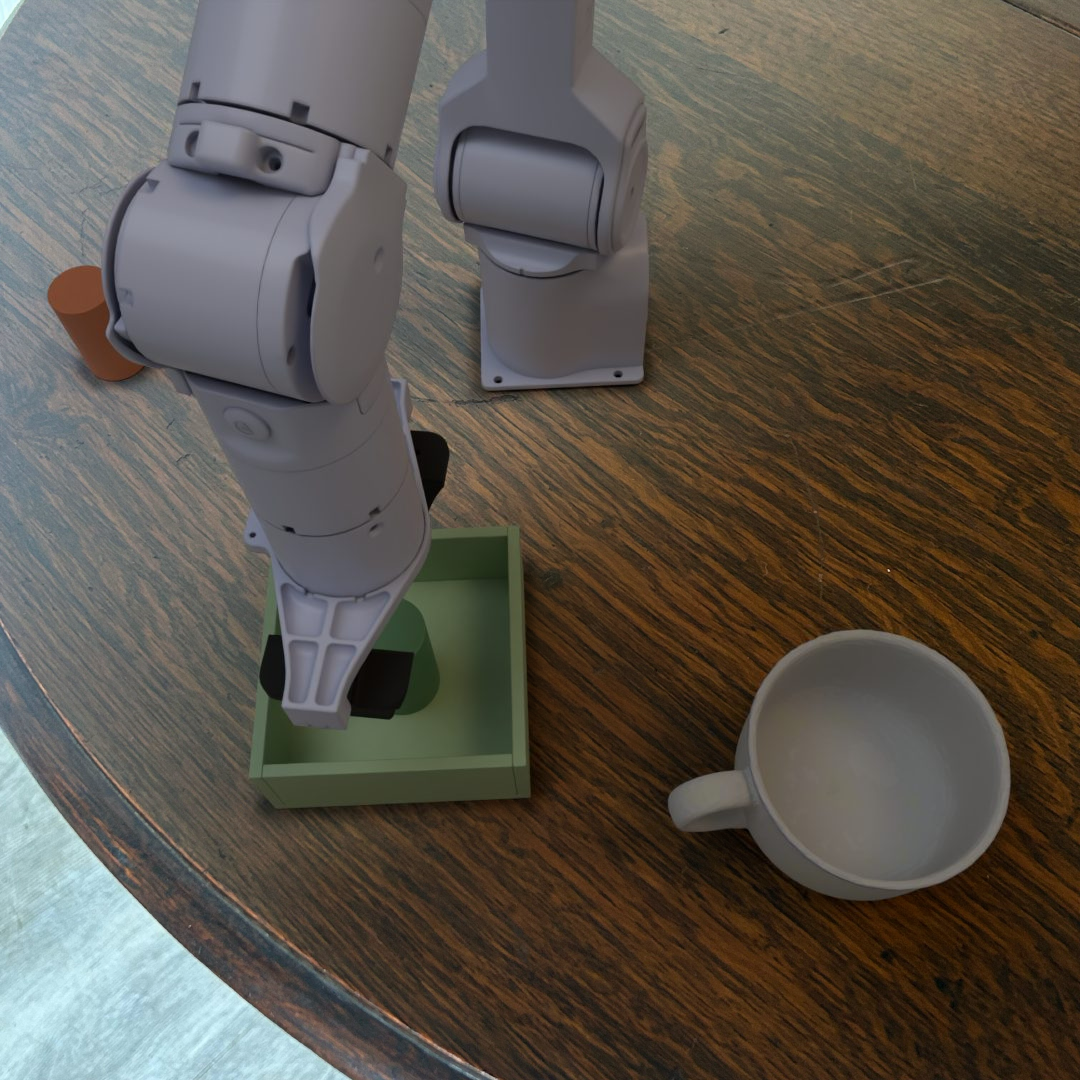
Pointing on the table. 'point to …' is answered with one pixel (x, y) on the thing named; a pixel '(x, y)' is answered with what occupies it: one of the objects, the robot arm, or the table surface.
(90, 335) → the terracotta peg
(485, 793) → the green bin
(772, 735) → the teacup
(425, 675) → the green peg
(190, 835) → the table surface
